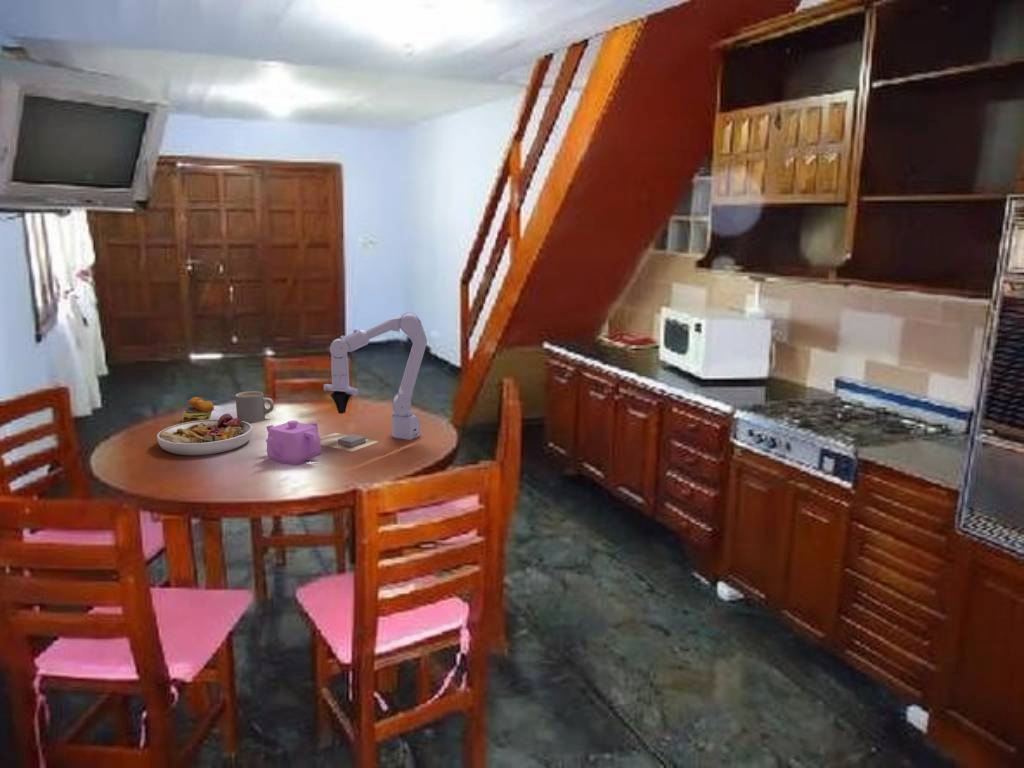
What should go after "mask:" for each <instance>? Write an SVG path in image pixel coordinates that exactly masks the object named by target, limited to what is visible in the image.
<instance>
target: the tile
mask: <svg viewBox="0 0 1024 768" xmlns="http://www.w3.org/2000/svg"><path fill="white" fill-rule="evenodd" d="M366 439H367V437H366V436H363V435H358V434H354V433H352V434H350V435H349V436H346V437H343V438H340V439H338V444H339V445H343V446H347V447H354V446H357V445H359V444H362V443H365V442H366Z"/></svg>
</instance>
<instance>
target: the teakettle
mask: <svg viewBox="0 0 1024 768" xmlns="http://www.w3.org/2000/svg"><path fill="white" fill-rule="evenodd" d="M265 427H266V431H267V433H268V434H267V439H265V442H266V455H267V457H268V460H270V461H272V462H275V463H279V464H282V465H287V466H289V465H290V466H300V465H303V464H307V463H310V462H311V461H312V460H311V458H314V457H317V456H319V455H321V454H322V445H321V442H320V438H321V437H320V434H319V427H318V423H317V422H313V421H312V422H308V423H305V422H299V421H298V420H288V421H286V422H285V423H280V424H277V425H275V426H274V425H273V424H272V425H266V426H265Z"/></svg>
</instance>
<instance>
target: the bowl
mask: <svg viewBox="0 0 1024 768" xmlns="http://www.w3.org/2000/svg"><path fill="white" fill-rule="evenodd" d="M252 435H253V425H252V423H247V422H244V421H241V420H240V419H239V418H237V417H233V416H232V415H231V414H230V413H223V414H222V415H221V416H220V417H219V418H217V419H213V418H212V419H211V418H210V419H209V420H199V421H192V422H182V423H177V424H174V425H171V426H168V427H166V428H163V429H162V430H160V431H159V432H158V433H157V435H156V440H157V443H158V445H159V446H160V447H161V448H162V449H163V450H164V451H165V452H168V453H171V454H175V455H181V456H206V455H214V454H221V453H225V452H229V451H232V450H235V449H237V448H240V447H242V446H243V445H244V446H245V444H247V442H249V440H251V438H252Z"/></svg>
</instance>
